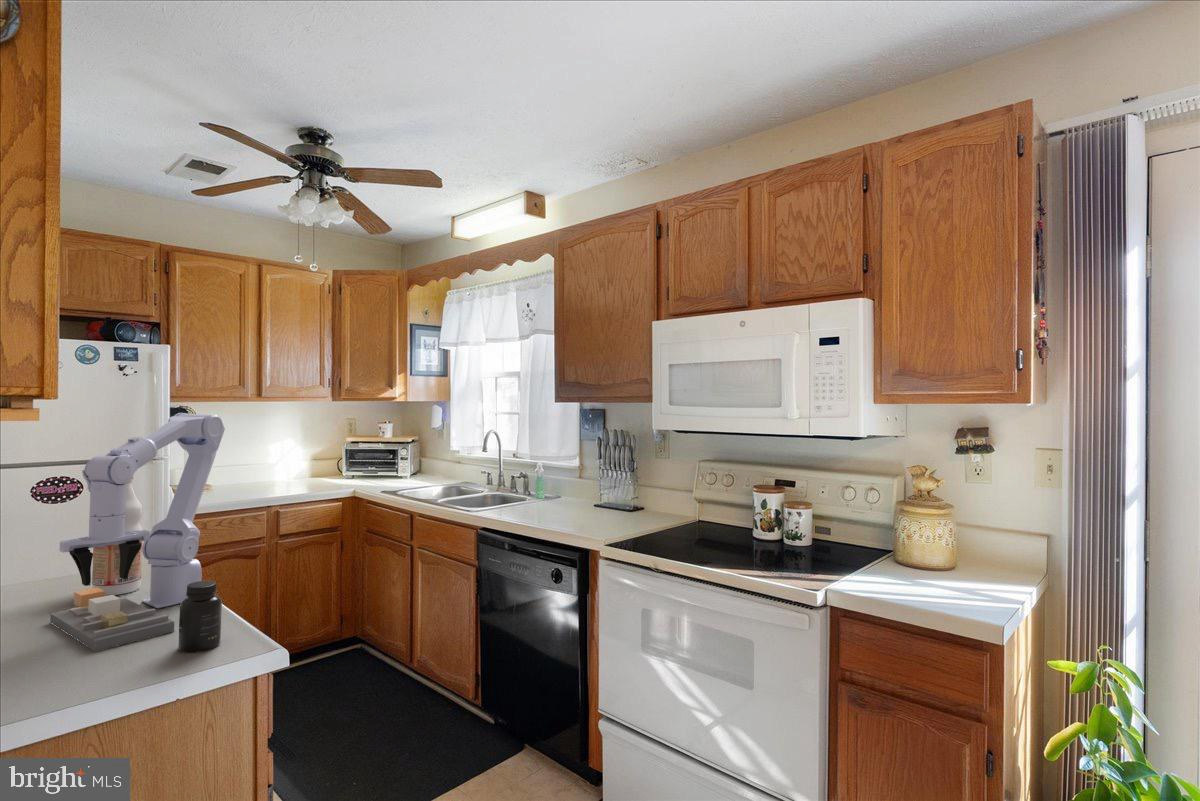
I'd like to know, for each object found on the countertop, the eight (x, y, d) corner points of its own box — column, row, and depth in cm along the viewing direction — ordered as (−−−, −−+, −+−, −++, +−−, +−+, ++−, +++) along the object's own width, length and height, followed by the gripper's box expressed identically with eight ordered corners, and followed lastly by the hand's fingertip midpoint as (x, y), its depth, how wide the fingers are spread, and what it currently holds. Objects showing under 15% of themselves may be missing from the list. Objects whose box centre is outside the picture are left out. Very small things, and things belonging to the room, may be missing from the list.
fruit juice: (82, 597, 145) (86, 476, 145) (105, 585, 154) (108, 472, 154) (129, 595, 147) (133, 477, 147) (148, 584, 156) (152, 472, 156)
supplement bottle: (169, 650, 117) (171, 586, 117) (203, 637, 123) (205, 576, 123) (195, 656, 115) (197, 590, 115) (229, 643, 121) (231, 581, 121)
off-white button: (112, 606, 130) (112, 594, 130) (119, 610, 128) (120, 598, 128) (88, 611, 126) (88, 599, 126) (95, 615, 124) (96, 603, 124)
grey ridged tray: (125, 607, 139) (125, 593, 139) (174, 631, 126) (174, 616, 126) (50, 623, 129) (50, 608, 129) (95, 651, 115) (95, 635, 115)
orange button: (97, 599, 134) (97, 587, 134) (104, 602, 132) (104, 591, 132) (73, 603, 131) (74, 591, 131) (80, 607, 129) (81, 595, 129)
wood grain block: (118, 622, 124) (119, 610, 124) (127, 627, 122) (127, 614, 122) (100, 626, 122) (101, 614, 122) (108, 631, 119) (109, 619, 119)
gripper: (140, 507, 135) (138, 570, 135) (55, 516, 123) (52, 585, 123) (154, 511, 131) (152, 576, 131) (67, 521, 119) (65, 592, 119)
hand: (105, 581), depth 127 cm, fingers open, 6 cm apart
